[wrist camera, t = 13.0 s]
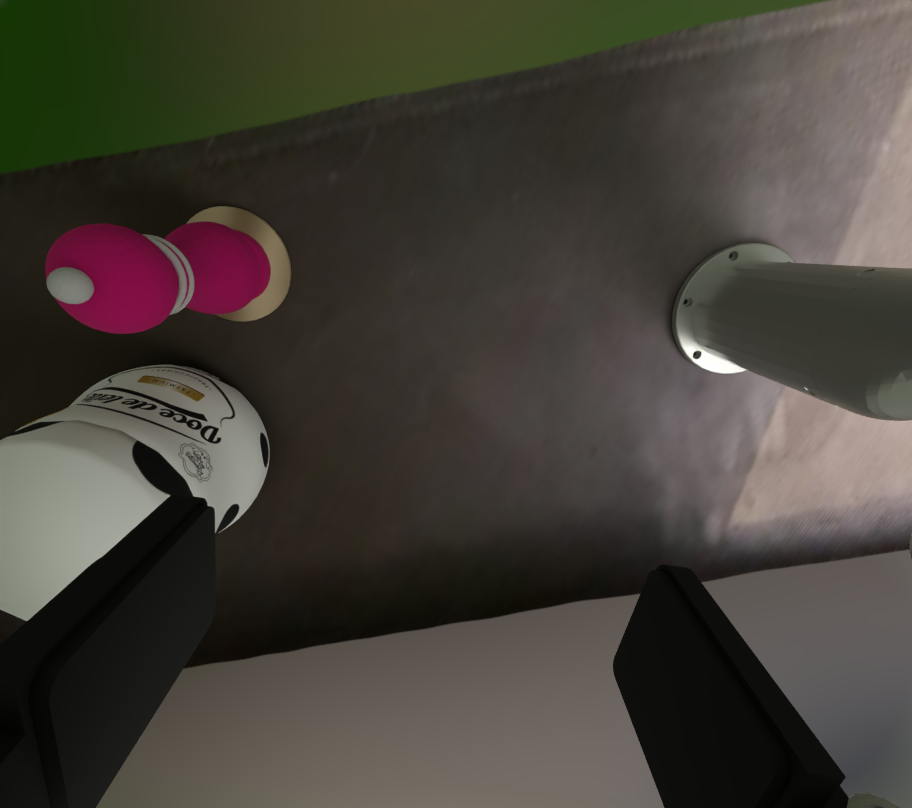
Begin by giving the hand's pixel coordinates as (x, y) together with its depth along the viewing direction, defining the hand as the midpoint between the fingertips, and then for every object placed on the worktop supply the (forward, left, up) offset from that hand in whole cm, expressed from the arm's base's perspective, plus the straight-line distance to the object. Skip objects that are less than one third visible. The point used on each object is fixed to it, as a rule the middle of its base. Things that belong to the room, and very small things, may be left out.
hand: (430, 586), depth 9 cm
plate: (+19, -2, -36) cm, 40 cm away
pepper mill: (+19, -2, -35) cm, 40 cm away
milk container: (+23, +16, -36) cm, 45 cm away
